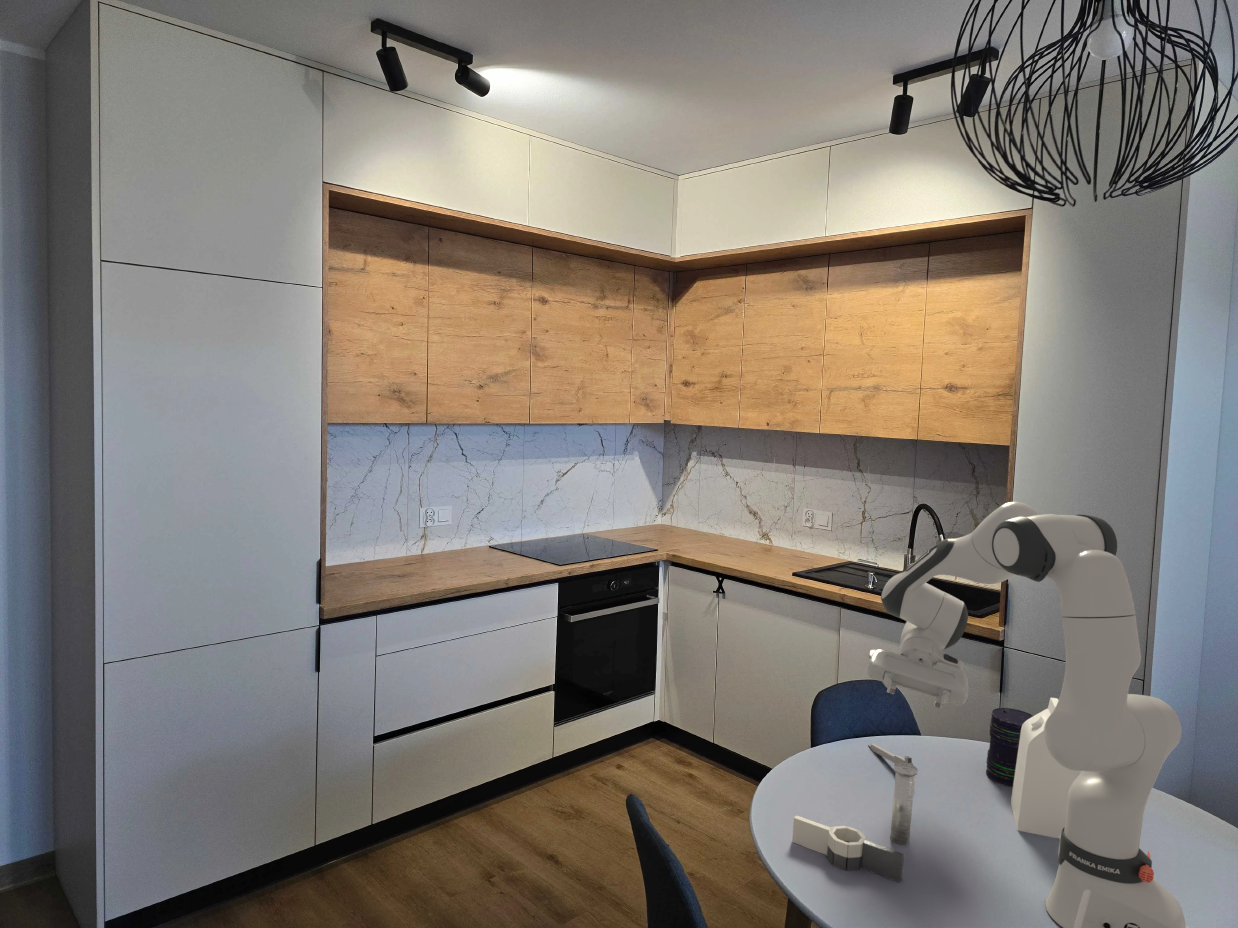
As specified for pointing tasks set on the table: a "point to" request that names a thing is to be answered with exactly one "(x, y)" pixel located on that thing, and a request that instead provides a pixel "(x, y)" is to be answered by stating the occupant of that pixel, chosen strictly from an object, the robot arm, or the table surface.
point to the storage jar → (1004, 744)
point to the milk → (1040, 781)
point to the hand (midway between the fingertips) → (914, 697)
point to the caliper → (890, 755)
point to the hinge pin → (902, 803)
